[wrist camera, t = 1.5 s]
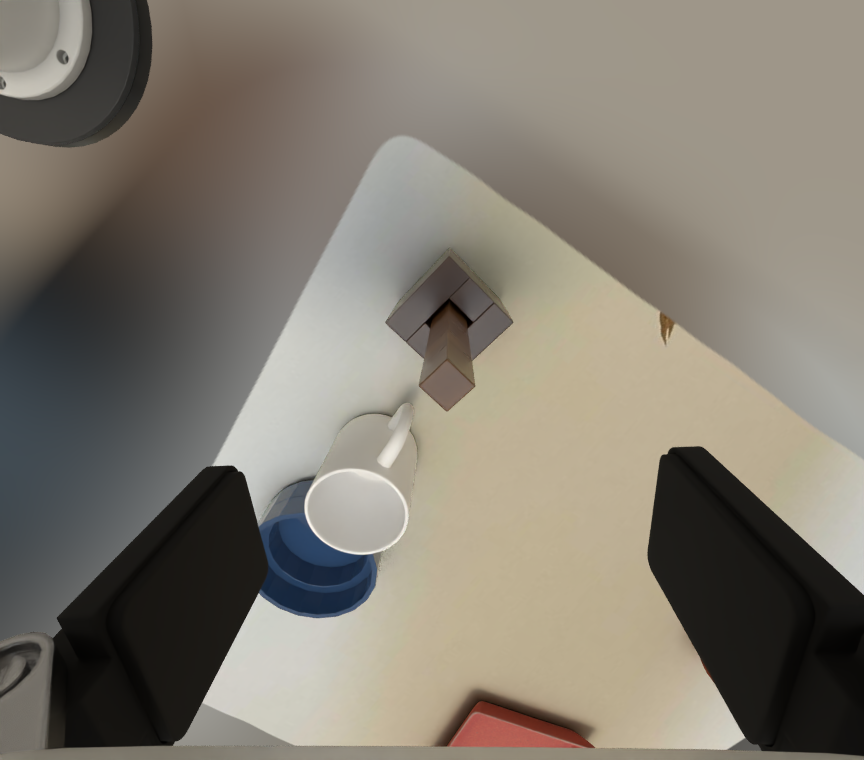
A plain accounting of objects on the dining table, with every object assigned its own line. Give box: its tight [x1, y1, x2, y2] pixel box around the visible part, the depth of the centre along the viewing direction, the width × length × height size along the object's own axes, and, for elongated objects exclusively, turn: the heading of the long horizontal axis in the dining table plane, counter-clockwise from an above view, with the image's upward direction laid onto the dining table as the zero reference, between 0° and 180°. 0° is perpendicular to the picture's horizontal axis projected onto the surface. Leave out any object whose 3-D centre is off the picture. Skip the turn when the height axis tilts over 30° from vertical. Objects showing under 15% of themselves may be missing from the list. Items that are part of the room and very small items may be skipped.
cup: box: [304, 403, 417, 555], centre depth 38 cm, size 8×12×10 cm
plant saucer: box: [446, 701, 595, 748], centre depth 57 cm, size 18×18×3 cm
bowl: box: [258, 480, 383, 618], centre depth 44 cm, size 13×13×6 cm
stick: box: [419, 298, 475, 411], centre depth 28 cm, size 2×2×20 cm
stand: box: [385, 248, 513, 360], centre depth 34 cm, size 6×6×8 cm
